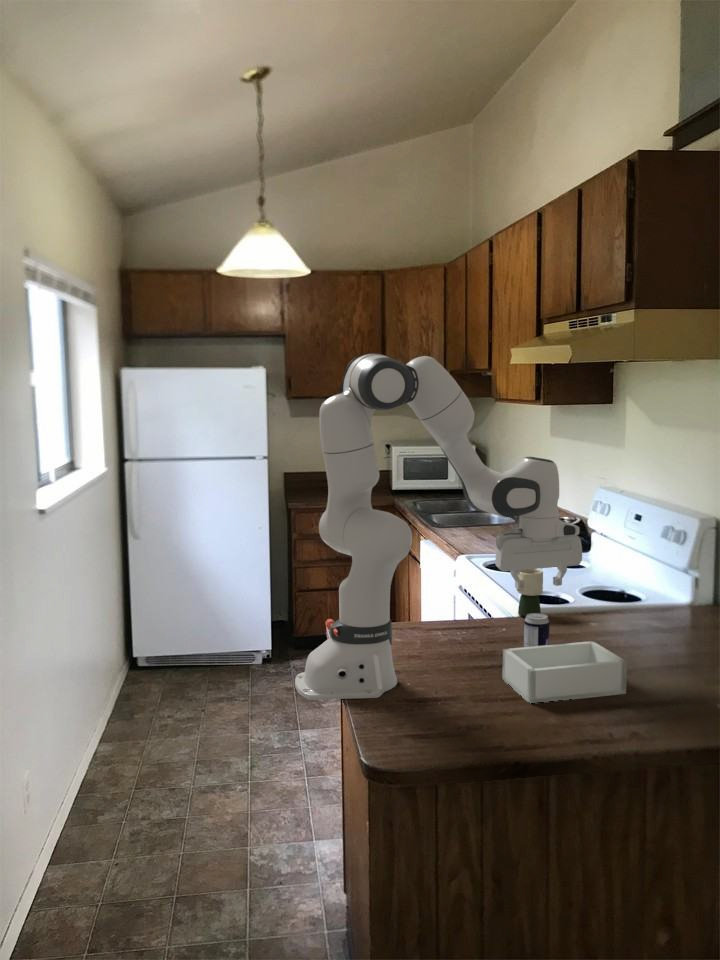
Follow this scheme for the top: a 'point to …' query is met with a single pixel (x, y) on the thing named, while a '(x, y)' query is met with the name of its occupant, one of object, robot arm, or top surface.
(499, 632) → the top surface
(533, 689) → the crate
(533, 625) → the beverage can
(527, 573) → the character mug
